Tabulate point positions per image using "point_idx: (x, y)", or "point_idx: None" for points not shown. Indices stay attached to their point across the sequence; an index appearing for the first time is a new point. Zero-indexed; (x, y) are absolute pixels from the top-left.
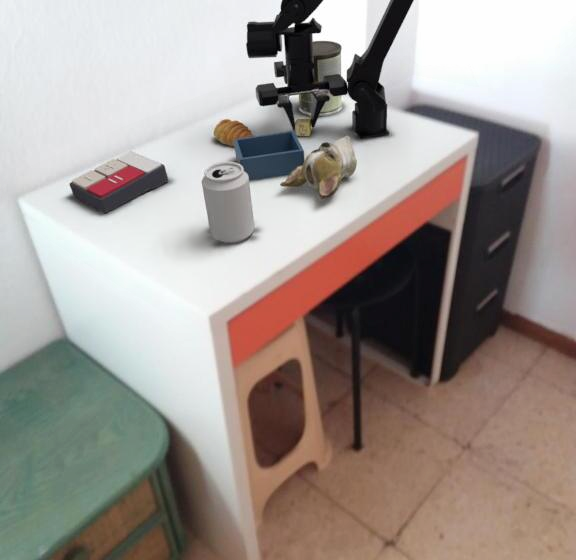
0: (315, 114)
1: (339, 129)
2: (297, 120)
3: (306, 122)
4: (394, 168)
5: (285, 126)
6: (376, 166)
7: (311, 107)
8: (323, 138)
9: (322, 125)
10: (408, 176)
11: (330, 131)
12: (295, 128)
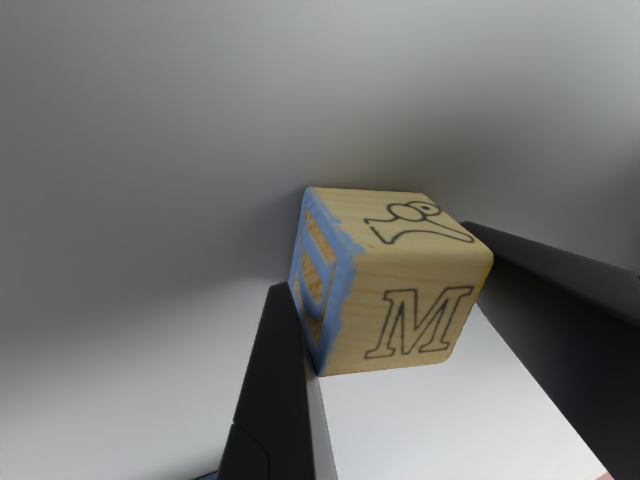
0: (568, 406)
1: (617, 162)
2: (349, 323)
3: (431, 352)
4: None
5: (136, 35)
6: (561, 453)
7: (625, 328)
8: None
9: (542, 62)
10: (602, 469)
11: (549, 195)
12: (307, 335)
